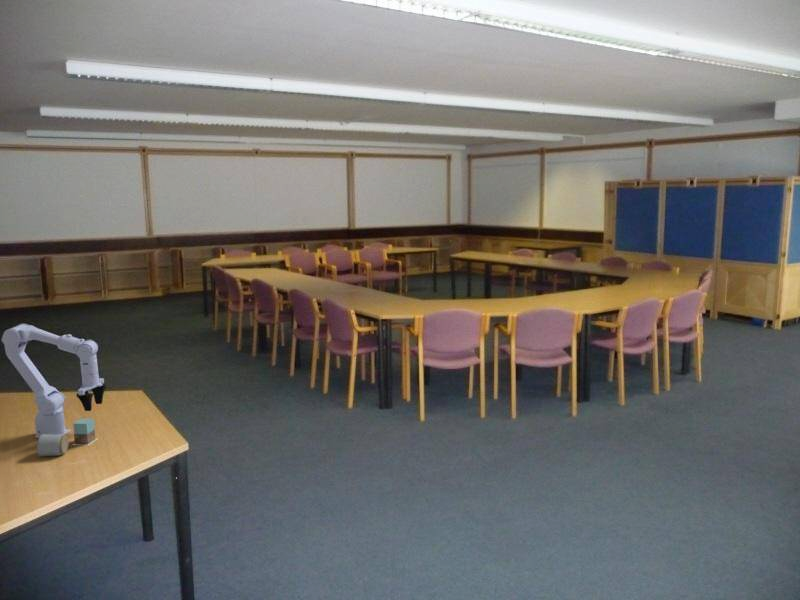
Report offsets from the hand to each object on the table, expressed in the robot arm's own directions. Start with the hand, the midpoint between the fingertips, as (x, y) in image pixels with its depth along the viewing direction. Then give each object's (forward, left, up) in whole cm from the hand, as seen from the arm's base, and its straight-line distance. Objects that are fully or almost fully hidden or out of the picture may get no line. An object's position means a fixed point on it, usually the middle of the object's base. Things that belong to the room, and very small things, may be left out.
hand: (93, 407), depth 242 cm
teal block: (+1, -9, -6) cm, 11 cm away
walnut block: (+1, -9, -10) cm, 14 cm away
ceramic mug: (-5, -19, -11) cm, 22 cm away
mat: (-1, -9, -10) cm, 14 cm away
